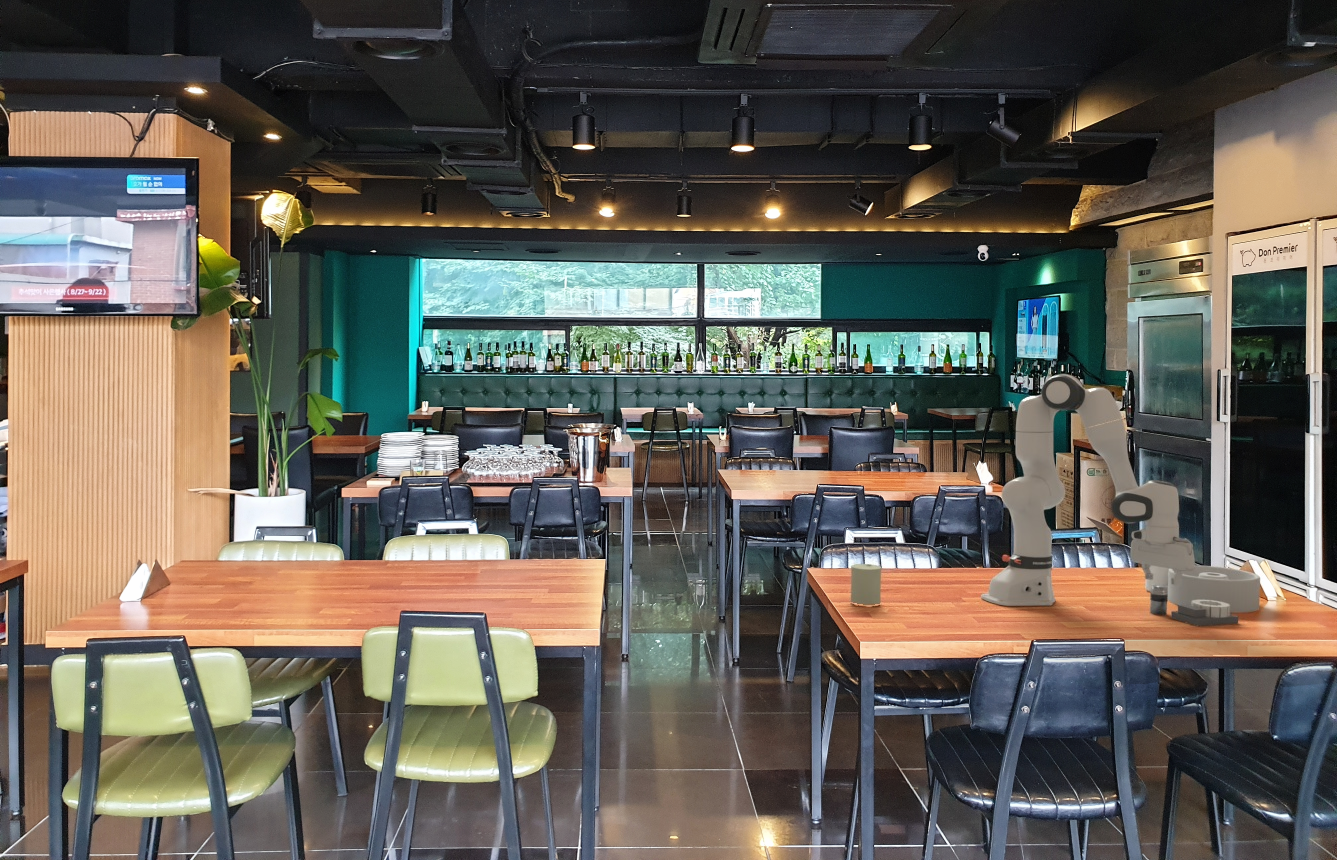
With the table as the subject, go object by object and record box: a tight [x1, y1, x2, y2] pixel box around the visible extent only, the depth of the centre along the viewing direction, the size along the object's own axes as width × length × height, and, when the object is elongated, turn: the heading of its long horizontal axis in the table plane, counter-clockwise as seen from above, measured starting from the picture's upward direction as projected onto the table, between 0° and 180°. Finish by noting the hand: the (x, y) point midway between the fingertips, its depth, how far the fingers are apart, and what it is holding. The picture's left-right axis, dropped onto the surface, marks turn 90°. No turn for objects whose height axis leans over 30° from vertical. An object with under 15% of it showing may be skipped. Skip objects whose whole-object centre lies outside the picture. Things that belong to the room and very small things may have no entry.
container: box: [1167, 565, 1261, 614], centre depth 310 cm, size 25×25×10 cm
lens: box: [1149, 585, 1169, 616], centre depth 295 cm, size 5×5×8 cm
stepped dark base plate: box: [1170, 600, 1239, 627], centre depth 287 cm, size 14×10×5 cm
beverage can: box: [1144, 565, 1169, 594], centre depth 327 cm, size 8×8×12 cm
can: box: [850, 563, 882, 605], centre depth 305 cm, size 9×9×12 cm
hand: (1162, 582), depth 295 cm, fingers open, 8 cm apart
